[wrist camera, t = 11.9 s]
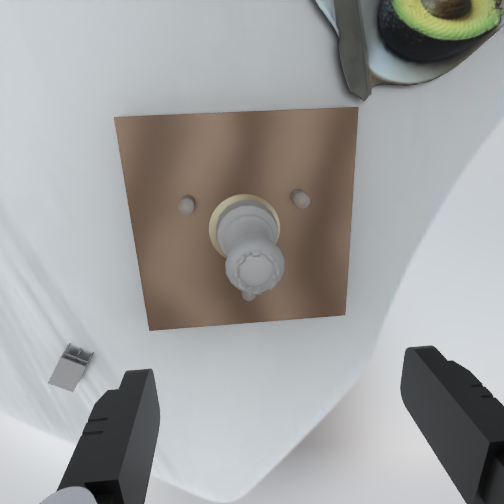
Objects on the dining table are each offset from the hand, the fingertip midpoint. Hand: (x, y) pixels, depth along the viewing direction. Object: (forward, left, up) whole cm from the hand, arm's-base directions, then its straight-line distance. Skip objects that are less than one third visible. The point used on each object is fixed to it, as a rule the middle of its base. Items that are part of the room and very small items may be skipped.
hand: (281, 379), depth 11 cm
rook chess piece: (0, 0, -16) cm, 16 cm away
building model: (+15, +11, -18) cm, 26 cm away
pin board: (0, 0, -18) cm, 18 cm away
